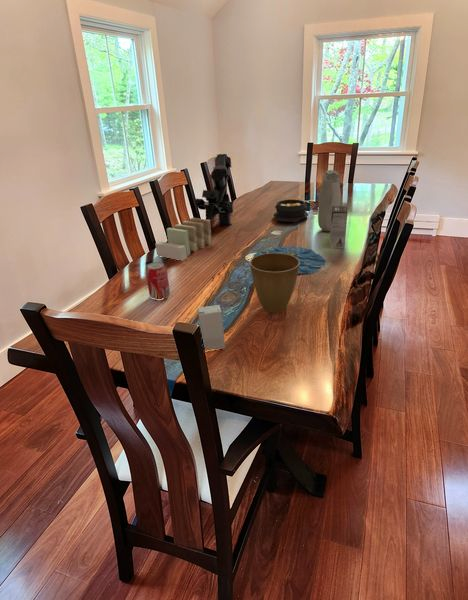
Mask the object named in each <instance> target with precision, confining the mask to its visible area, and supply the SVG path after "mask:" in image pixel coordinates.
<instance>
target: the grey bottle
mask: <svg viewBox="0 0 468 600" xmlns="http://www.w3.org/2000/svg"><path fill="white" fill-rule="evenodd" d="M317 205H318V206H317V207H318V208H317V209H318V210H317V211H318V213H317V224H318V227H319V228H320V229H321V230H322V231H324V232H330V231H331V214H332V206H341V205H342V193H341V185H340V175H339V172H338V171H337V170H333V169H329V170H327V171H325V172H324V174H323V175H322V182H321V187H320V191H319V195H318V204H317Z"/></svg>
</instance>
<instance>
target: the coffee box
mask: <svg viewBox="0 0 468 600" xmlns="http://www.w3.org/2000/svg"><path fill="white" fill-rule="evenodd" d="M347 221H348V205H344V206H343V205H342V206H332V214H331V231H329V232H330V233H329V234H330V236H329V237H330V238H329V249H346V248H345V245H346V234H347V233H346V232H347Z"/></svg>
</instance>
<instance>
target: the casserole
mask: <svg viewBox="0 0 468 600" xmlns="http://www.w3.org/2000/svg"><path fill="white" fill-rule="evenodd" d="M274 208H275V209H276V212H274V213H273V217H274V218H275V220H276V221H279V222H284V223H285V222H286V223H287V222H288V223H289V222H290V223H292V222H298V221H300V220H302V219H305V218H307V217H308V216H309V213H308V212H307V211H306V210H307V208H308V205H307V204H306V202H305V201H304V200H301V199H284V200H279V201H277V202H276V205H275V206H274Z"/></svg>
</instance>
